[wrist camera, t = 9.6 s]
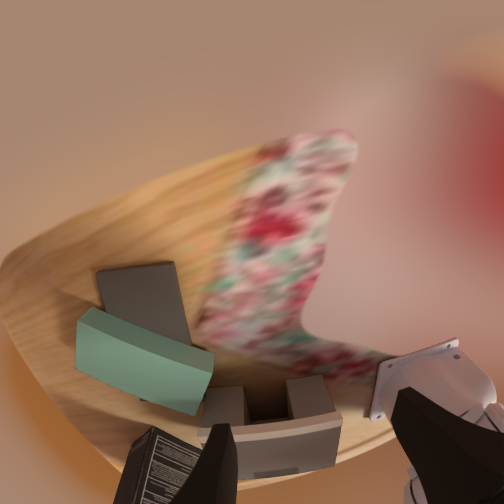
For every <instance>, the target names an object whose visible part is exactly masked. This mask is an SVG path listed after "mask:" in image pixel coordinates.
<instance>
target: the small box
mask: <svg viewBox="0 0 504 504" xmlns="http://www.w3.org/2000/svg"><path fill="white" fill-rule="evenodd" d="M201 452H202V450H200V449H198V448H196V447H194V446H191V445H189V444H187V443H185V442H183V441H181V440H179V439H177V438H175V437H173V436H171V435H169V434H167V433H165V432H164V431H162V430H160V429H158V428H156V427H152V428H151V429H149V431H148V432H146V434H144V435H143V436H142V437H141V438H139V439H138V440H137V441H135V442H134V443H133V445H131V448H130V451H129V454H128V457H127V460H126V464H125V466H124V470H123V473H122V476H121V479H120V482H119V486H118V489H117V492H116V496H115V499H114V502H113V504H168V503H169V502H170V501H171V500H172V498H173V497H174V496H175V495H176V493H177V492H178V491H179V489H180V488H181V487H182V485H183V484H184V482H185V481H186V479H187V477H188V476H189V474H190V473H191V471H192V469H193V468H194V466H195V464H196V462H197V460H198V458H199V456H200V454H201Z"/></svg>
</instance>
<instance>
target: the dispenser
mask: <svg viewBox="0 0 504 504" xmlns="http://www.w3.org/2000/svg"><path fill="white" fill-rule="evenodd" d="M286 391H287V406H288V417H284V418H277V419H269V420H260V421H251V422H250V419H249V414H248V408H247V403H246V398H245V393H244V388H243V385H241V386H230V387H216V388H207V392H206V400H205V407H204V415H203V422H202V428H198V433H197V438H198V440H199V442H200V443H201V446H202V448H204V446H205V444H206V441H207V439H208V436H209V434H210V431H211V428H212V426H213V425H214V424H223V423H229V424H230V427H231V431H232V434H233V438H234V441H235V445H236V448H237V457H238V480H247V479H260V478H270V477H278V476H286V475H292V474H299V473H304V472H310V471H315V470H320V469H325V468H329V467H333V466H335V461H336V456H337V450H338V444H339V438H340V432H341V426H342V422H343V417H342V415H341V412H340V411H336V409H335V407H334V404H333V402H332V399H331V397H330V394H329V392H328V389H327V387H326V384H325V382H324V379H323V377H322V374H319V375H313V376H308V377H302V378H296V379H290V380H286Z"/></svg>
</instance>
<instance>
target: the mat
mask: <svg viewBox="0 0 504 504" xmlns="http://www.w3.org/2000/svg"><path fill="white" fill-rule="evenodd" d="M95 274H96V278H97V281H98V285H99V289H100V292H101V296H102V299H103V303H104V306H105V309H106V313H108V314H110V315H112V316H115V317H117V318H119V319H122V320H124V321H126V322H129V323H131V324H134V325H136V326H139V327H141V328H144V329H146V330H149V331H151V332H154V333H156V334H159V335H162V336H164V337H167V338H170V339H172V340H175V341H178V342H181V343H184V344H187V345H189V346H192V347H193V345H192V341H191V337H190V333H189V329H188V325H187V321H186V317H185V312H184V308H183V303H182V299H181V294H180V289H179V285H178V280H177V275H176V270H175V264H174V262H168V263H160V264H152V265H143V266H135V267H127V268H119V269H111V270H102V271H98V272H97V273H95ZM139 399H140V401H147V400H144V399H142V398H139ZM205 400H206V393H204V396H203V398H202V400H201V401H205Z"/></svg>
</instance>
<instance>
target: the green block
mask: <svg viewBox="0 0 504 504" xmlns="http://www.w3.org/2000/svg"><path fill="white" fill-rule="evenodd" d="M214 359H215V354H214V353H211V352H208V351H204V350H201V349H198V348H195V347H192V346H189V345H187V344H184V343H181V342H178V341H175V340H172V339H170V338H167V337H164V336H162V335H159V334H156V333H154V332H151V331H149V330H146V329H144V328H141V327H139V326H136V325H134V324H131V323H129V322H126V321H124V320H122V319H119V318H117V317H115V316H112V315H110V314H108V313H106V312H104V311H101V310H99V309H97V308H95V307H93V306H92V307H90V308H89V309H88V310H87V311H86V312H85V313H84V314H83V315H82V316H81V317H80V318H79V319H78V320H77V331H76V356H75V369H77V370H79V371H81V372H83V373H85V374H87V375H89V376H91V377H93V378H95V379H97V380H99V381H101V382H104V383H106V384H108V385H110V386H112V387H115V388H117V389H119V390H122V391H124V392H127V393H129V394H131V395H134V396H137V397H139V398H142V399H144V400H147V401H150V402H152V403H155V404H158V405H161V406H164V407H167V408H170V409H173V410H176V411H179V412H182V413H186V414H189V415H192V416H195V415H196V412H197V410H198V408H199V405H200V403H201V400H202V398H203V396H204V393H205V391H206V388H207V386H208V384H209V381H210V379H211V376H212V374H213V367H214Z"/></svg>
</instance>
